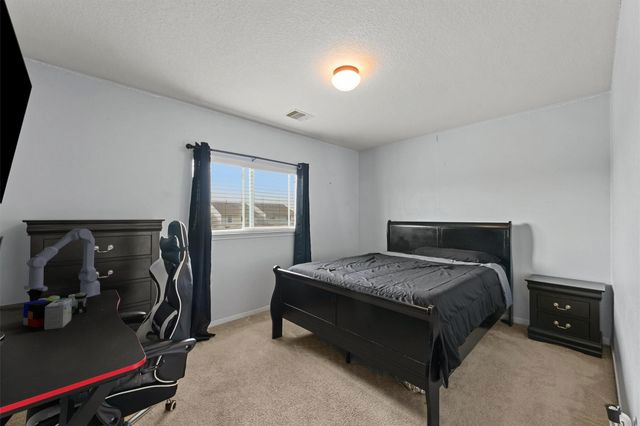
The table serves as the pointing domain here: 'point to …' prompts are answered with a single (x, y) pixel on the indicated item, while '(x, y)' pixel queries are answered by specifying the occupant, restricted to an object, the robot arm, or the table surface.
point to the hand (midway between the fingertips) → (35, 302)
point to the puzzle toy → (36, 312)
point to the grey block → (71, 297)
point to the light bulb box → (57, 314)
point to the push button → (80, 303)
